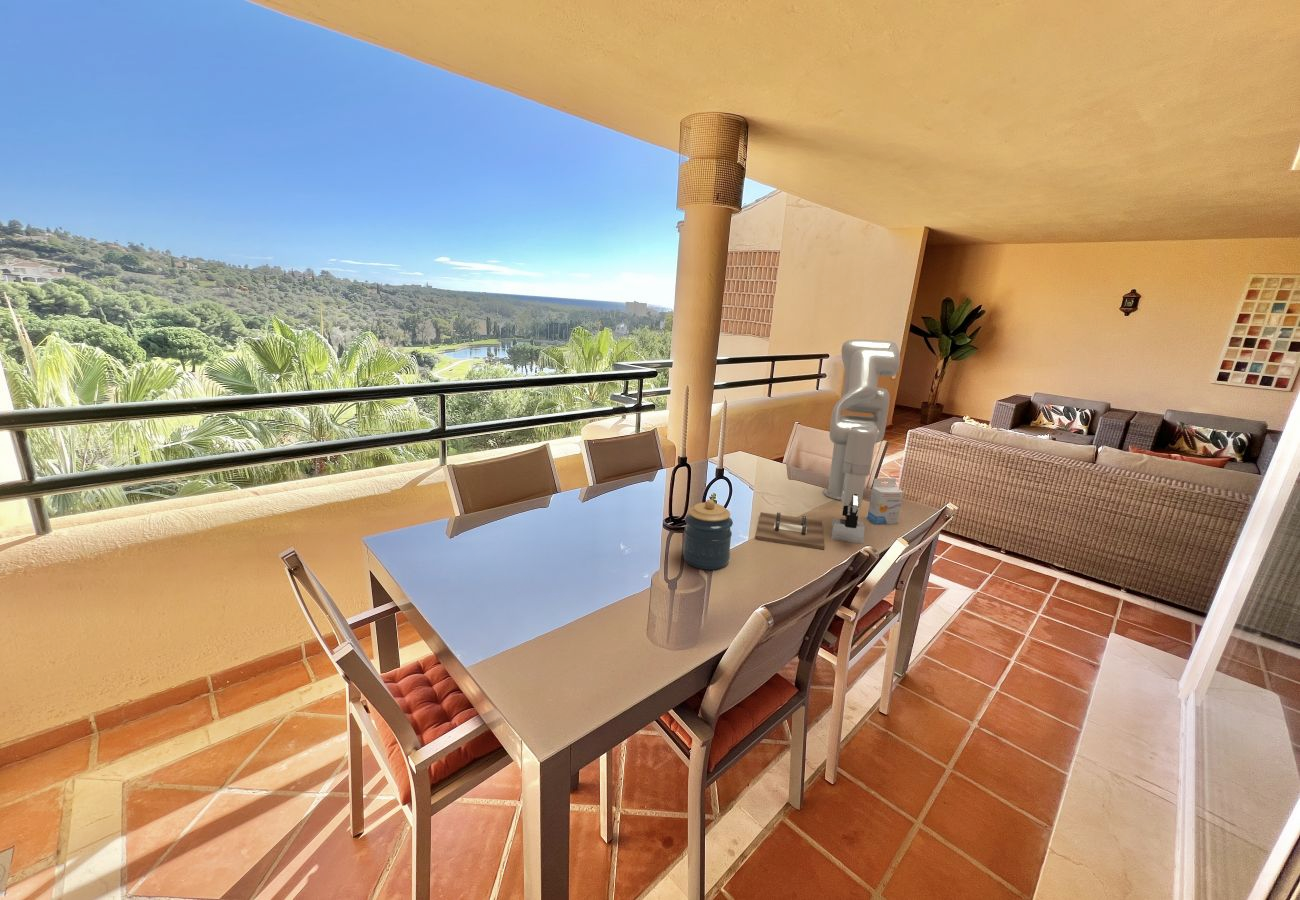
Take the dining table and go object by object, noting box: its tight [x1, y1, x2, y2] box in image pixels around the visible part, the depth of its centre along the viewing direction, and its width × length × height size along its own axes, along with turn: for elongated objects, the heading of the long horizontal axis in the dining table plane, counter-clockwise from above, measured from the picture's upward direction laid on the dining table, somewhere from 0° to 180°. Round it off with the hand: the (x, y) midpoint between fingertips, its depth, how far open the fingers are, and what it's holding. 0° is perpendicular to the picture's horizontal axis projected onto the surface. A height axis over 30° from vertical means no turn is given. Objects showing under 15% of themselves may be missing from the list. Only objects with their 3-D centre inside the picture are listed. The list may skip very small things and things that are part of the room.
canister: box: [682, 499, 734, 571], centre depth 137 cm, size 13×13×18 cm
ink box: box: [867, 477, 904, 525], centre depth 168 cm, size 8×5×15 cm, turn 98°
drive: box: [830, 517, 866, 544], centre depth 155 cm, size 4×9×6 cm, turn 74°
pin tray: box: [755, 512, 826, 550], centre depth 159 cm, size 20×20×4 cm
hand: (849, 521), depth 154 cm, fingers open, 9 cm apart
